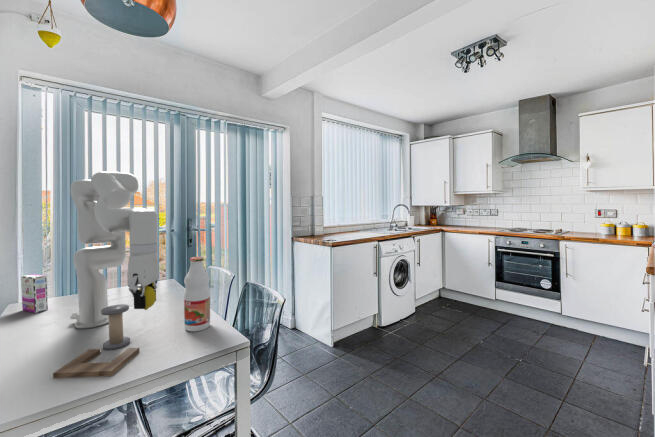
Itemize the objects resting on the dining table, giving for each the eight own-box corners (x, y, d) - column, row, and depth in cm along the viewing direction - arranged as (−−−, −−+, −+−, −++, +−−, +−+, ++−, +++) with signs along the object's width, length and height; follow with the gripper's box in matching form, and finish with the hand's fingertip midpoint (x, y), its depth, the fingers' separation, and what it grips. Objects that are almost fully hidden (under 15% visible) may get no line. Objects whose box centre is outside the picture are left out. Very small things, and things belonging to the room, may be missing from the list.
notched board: (53, 378, 85) (52, 373, 85) (89, 353, 99) (89, 349, 99) (111, 376, 86) (111, 370, 86) (139, 351, 100) (139, 347, 100)
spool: (96, 350, 101) (95, 312, 100) (112, 339, 109) (110, 304, 108) (121, 349, 102) (119, 312, 101) (135, 339, 110) (133, 304, 109)
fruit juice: (215, 325, 122) (214, 256, 120) (195, 334, 113) (194, 261, 111) (199, 320, 126) (198, 254, 124) (179, 329, 118) (177, 258, 116)
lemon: (141, 307, 98) (140, 283, 98) (159, 306, 99) (158, 282, 98) (132, 313, 93) (131, 288, 92) (151, 312, 93) (150, 287, 93)
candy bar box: (49, 310, 141) (47, 275, 140) (35, 313, 136) (33, 277, 135) (35, 307, 145) (33, 273, 144) (21, 310, 140) (19, 275, 139)
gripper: (146, 244, 103) (147, 296, 104) (113, 254, 86) (116, 315, 87) (169, 244, 103) (170, 296, 105) (141, 254, 86) (142, 315, 87)
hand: (145, 304), depth 96 cm, fingers closed on lemon, 5 cm apart
